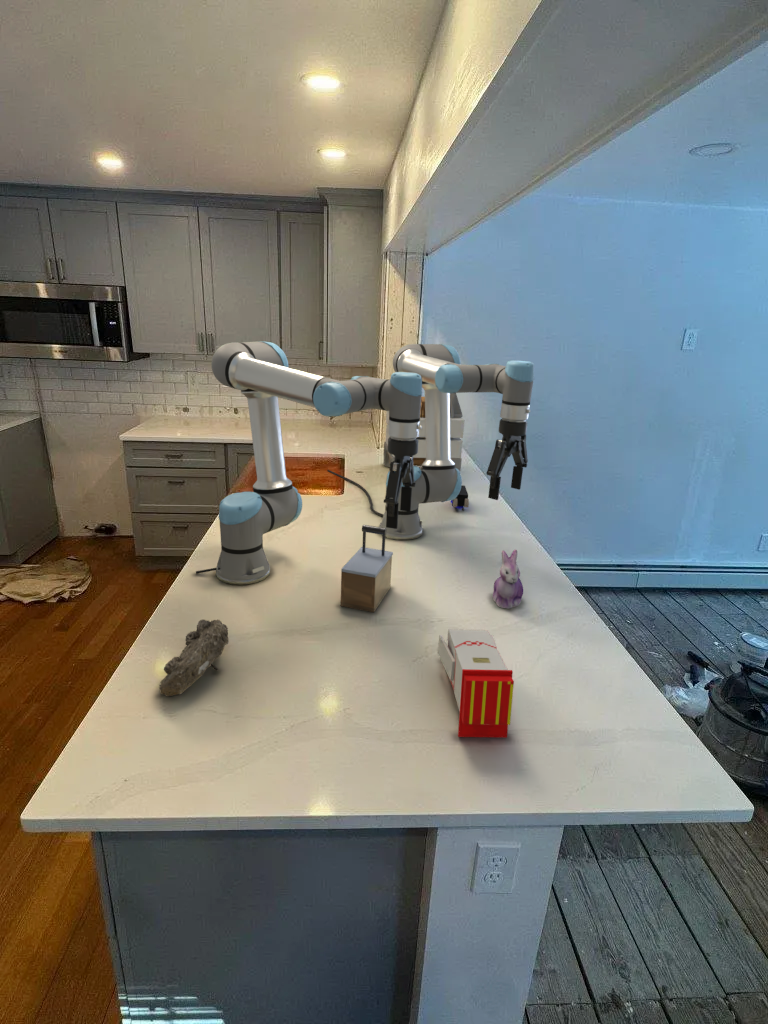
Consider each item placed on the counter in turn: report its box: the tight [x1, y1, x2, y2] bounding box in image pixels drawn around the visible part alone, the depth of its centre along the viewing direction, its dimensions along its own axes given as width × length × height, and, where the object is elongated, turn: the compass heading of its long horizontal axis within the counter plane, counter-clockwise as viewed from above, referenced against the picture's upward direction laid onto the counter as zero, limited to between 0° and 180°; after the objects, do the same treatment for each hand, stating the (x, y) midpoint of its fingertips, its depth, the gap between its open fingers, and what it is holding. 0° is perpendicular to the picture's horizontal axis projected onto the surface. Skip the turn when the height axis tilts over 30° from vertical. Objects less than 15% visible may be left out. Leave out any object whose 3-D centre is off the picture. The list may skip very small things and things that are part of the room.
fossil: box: [159, 619, 229, 697], centre depth 120 cm, size 22×10×15 cm
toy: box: [437, 628, 515, 738], centre depth 117 cm, size 12×13×30 cm
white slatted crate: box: [383, 393, 465, 475], centre depth 268 cm, size 34×33×41 cm
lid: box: [340, 524, 394, 577], centre depth 151 cm, size 16×9×9 cm, turn 163°
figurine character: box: [449, 484, 470, 512], centre depth 229 cm, size 7×8×15 cm
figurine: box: [492, 548, 524, 609], centre depth 154 cm, size 9×10×15 cm
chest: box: [340, 555, 393, 613], centre depth 154 cm, size 15×9×10 cm, turn 163°
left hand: (398, 518), depth 146 cm, fingers open, 13 cm apart
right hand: (504, 493), depth 162 cm, fingers open, 13 cm apart
